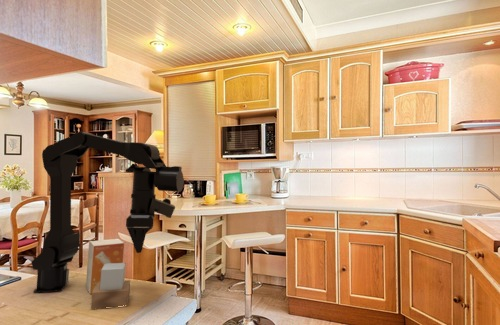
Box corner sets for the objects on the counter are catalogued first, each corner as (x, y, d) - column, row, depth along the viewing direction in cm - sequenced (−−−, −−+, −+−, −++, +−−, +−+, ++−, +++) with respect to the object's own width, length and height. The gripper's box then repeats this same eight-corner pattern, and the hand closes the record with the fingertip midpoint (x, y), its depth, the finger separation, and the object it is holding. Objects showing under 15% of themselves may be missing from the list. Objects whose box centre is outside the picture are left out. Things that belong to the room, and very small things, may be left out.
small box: (89, 294, 79) (93, 245, 79) (85, 287, 84) (88, 240, 84) (121, 288, 84) (124, 242, 84) (115, 281, 89) (118, 237, 89)
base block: (90, 309, 71) (91, 292, 71) (96, 297, 77) (97, 281, 77) (126, 306, 73) (127, 290, 73) (129, 295, 80) (130, 280, 80)
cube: (100, 290, 72) (101, 269, 72) (103, 282, 77) (105, 263, 77) (122, 289, 74) (123, 268, 74) (124, 281, 78) (125, 262, 79)
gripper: (175, 193, 73) (172, 256, 73) (172, 188, 91) (170, 239, 90) (127, 192, 70) (123, 258, 69) (134, 187, 88) (131, 240, 87)
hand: (140, 247), depth 79 cm, fingers open, 9 cm apart
